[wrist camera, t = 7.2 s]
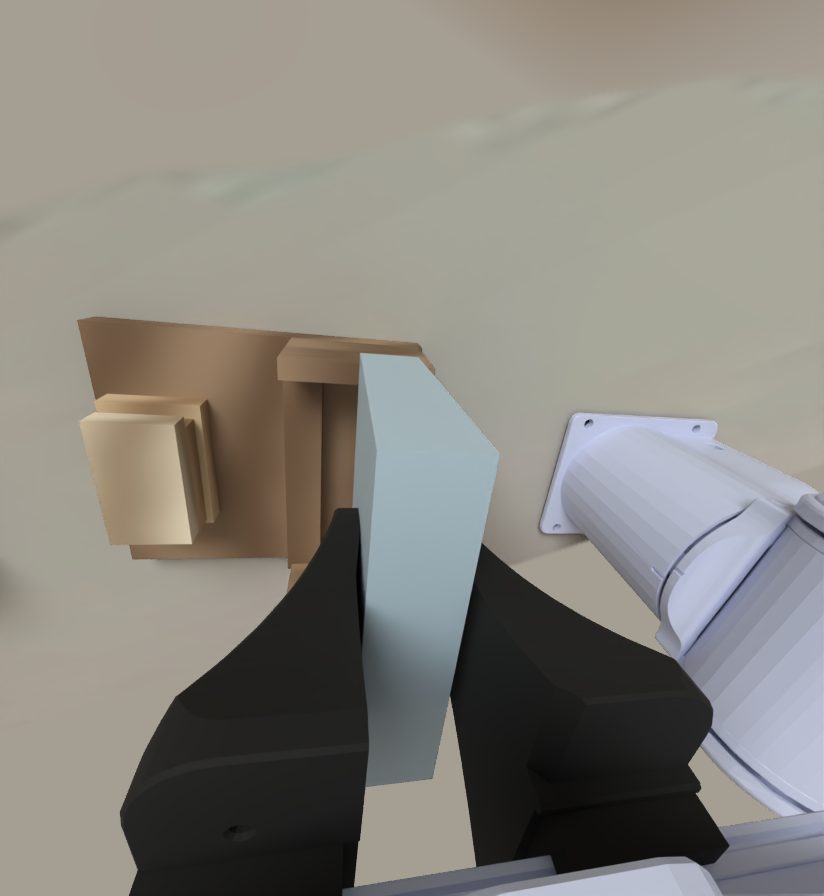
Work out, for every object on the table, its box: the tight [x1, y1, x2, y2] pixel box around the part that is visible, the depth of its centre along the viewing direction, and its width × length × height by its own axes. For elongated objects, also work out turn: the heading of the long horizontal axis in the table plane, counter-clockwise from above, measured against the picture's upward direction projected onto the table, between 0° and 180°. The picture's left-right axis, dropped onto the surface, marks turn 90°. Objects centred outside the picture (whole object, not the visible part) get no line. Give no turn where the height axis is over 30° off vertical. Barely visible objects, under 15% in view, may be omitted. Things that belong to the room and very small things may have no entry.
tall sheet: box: [352, 353, 500, 787], centre depth 12 cm, size 2×9×8 cm, turn 174°
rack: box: [77, 317, 435, 593], centre depth 18 cm, size 14×12×5 cm
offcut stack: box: [79, 394, 220, 545], centre depth 17 cm, size 4×6×3 cm, turn 174°
